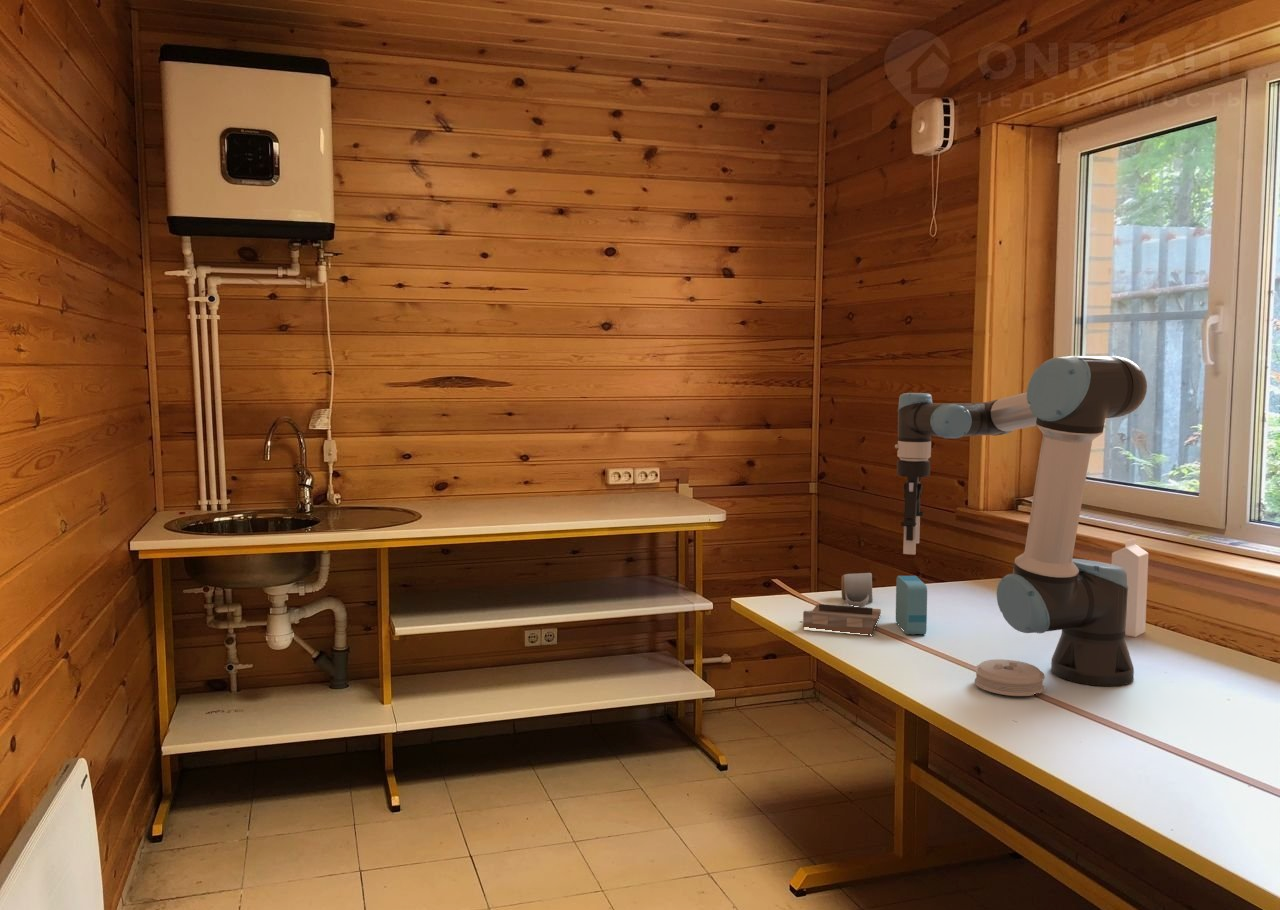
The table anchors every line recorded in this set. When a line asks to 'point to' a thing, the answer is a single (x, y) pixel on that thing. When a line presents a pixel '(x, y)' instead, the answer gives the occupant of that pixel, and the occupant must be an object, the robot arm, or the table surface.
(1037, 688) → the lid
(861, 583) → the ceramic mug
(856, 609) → the brown tray
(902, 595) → the teal rounded flat block
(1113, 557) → the milk
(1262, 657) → the table surface
